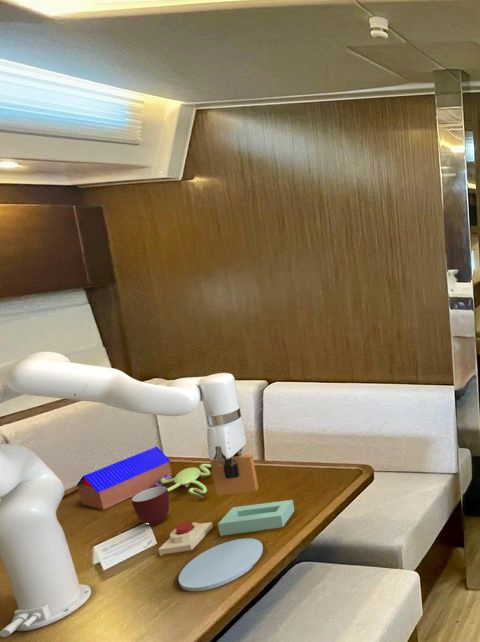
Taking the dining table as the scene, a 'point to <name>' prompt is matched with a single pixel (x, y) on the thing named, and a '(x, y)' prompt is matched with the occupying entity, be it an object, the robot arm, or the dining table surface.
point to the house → (123, 479)
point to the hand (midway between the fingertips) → (234, 474)
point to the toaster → (256, 517)
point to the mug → (152, 505)
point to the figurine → (187, 479)
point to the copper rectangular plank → (240, 483)
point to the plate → (220, 564)
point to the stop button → (184, 528)
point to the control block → (185, 539)
